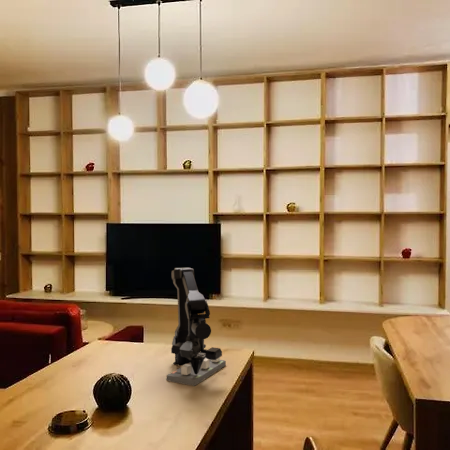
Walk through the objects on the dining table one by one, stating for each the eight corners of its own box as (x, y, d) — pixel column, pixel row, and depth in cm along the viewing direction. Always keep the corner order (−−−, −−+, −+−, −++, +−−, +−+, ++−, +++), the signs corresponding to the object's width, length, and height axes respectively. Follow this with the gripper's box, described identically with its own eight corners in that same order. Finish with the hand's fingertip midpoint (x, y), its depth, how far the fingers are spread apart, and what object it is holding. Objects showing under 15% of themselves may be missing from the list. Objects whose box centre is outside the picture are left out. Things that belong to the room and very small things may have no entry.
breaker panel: (166, 380, 182) (166, 375, 182) (200, 361, 205) (199, 356, 205) (194, 385, 177) (194, 380, 177) (225, 365, 199) (225, 360, 199)
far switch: (211, 361, 197) (211, 354, 197) (214, 359, 200) (214, 352, 200) (216, 362, 196) (216, 354, 196) (220, 360, 199) (220, 352, 199)
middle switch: (200, 368, 189) (200, 360, 189) (204, 365, 192) (204, 358, 192) (205, 369, 188) (205, 361, 188) (209, 366, 191) (209, 359, 191)
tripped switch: (181, 374, 182) (181, 366, 182) (185, 371, 185) (185, 363, 185) (186, 375, 181) (186, 367, 181) (190, 372, 184) (190, 364, 184)
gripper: (162, 334, 178) (163, 376, 178) (208, 340, 169) (208, 385, 170) (179, 327, 188) (179, 367, 188) (222, 333, 179) (222, 375, 180)
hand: (196, 373), depth 181 cm, fingers closed
